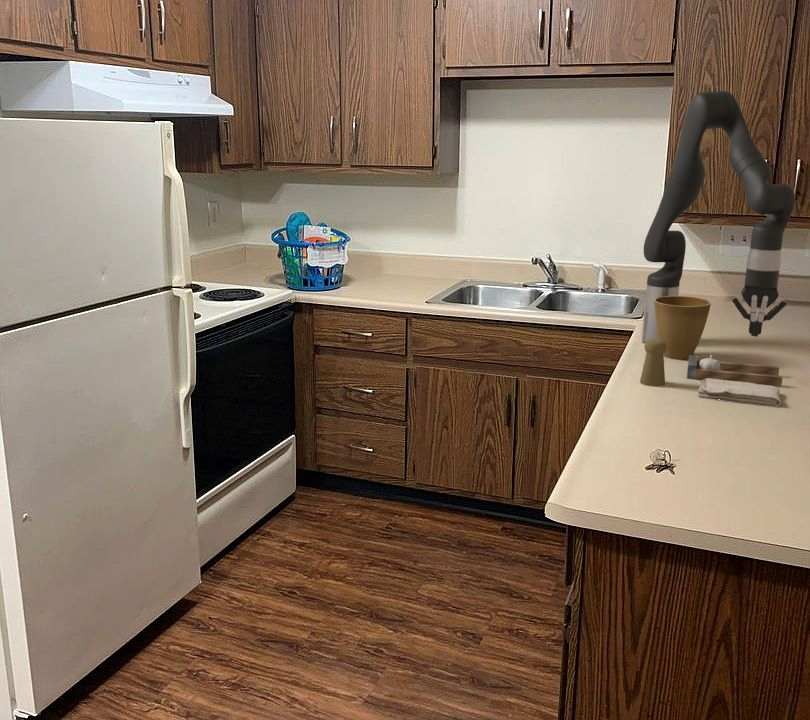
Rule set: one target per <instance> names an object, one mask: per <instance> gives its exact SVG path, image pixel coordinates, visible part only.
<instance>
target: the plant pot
mask: <svg viewBox="0 0 810 720" xmlns="http://www.w3.org/2000/svg"><path fill="white" fill-rule="evenodd" d="M654 305H655V317H656V324H657V330H658V335H659V339H660V340H663V341H664V342H665V343H666V345H667V348H666V351H665V353H664V358H667V359H671V360H681V361H683V360H689V355H694V353H695V352H696V349H697V347H698V346H699V342H700V340H701V339H702V335H703V333H704V329H705V326H706V324H707V322H708V321H707V320H708V317H709V312H710V309H711V306H712V302H711V301H710V300H708V299H706V298H701V297H695V296H687V295H678V296H664V297H658V298H656V299H654Z"/></svg>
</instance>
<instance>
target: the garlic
mask: <svg viewBox="0 0 810 720" xmlns="http://www.w3.org/2000/svg"><path fill="white" fill-rule="evenodd" d="M709 356H710V357H705V358H704V359H703V358H702V359H700V360H701V361H700V362H699V369H708V370H720V362H721V361H720V362H719V360H718V359H715V358H713V355H711V354H710V355H709Z"/></svg>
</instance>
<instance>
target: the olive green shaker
mask: <svg viewBox="0 0 810 720" xmlns="http://www.w3.org/2000/svg"><path fill="white" fill-rule="evenodd" d="M666 348H667V345H666V343H665V342H664V341H663V340H659V339H650V340H647V341H646V343H645V342H644V351H645V352H646V353H645V358H644V361H643V365H642V372H641V374H640V375H641V376H640V380H639V383H640V384H641V385H644V386H647V387H664V386H665V385H666V375H665V356H664V353H665V351H666Z"/></svg>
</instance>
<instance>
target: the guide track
mask: <svg viewBox="0 0 810 720" xmlns="http://www.w3.org/2000/svg"><path fill="white" fill-rule="evenodd" d="M701 360H702V359H698V355H694V354H693V355H689V359H687V361H688V362H687V372H686V373H687V375H686V379H689V380H700V381H701V380H705V378H706V379H707V378H711V379H719V380H727V381H737V382H748V383H754V384H759V385H770V386H775V387H777V388H782V385H783V376H782V375H779V373H780V366H778V365H777V366H776V365H768V364H767V365H764V364H756V363H755V364H753V363H741V362H732V361H729V362H728V361H719V360H718V361H719V362H720V370H708V369H699V362H700V361H701Z"/></svg>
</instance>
